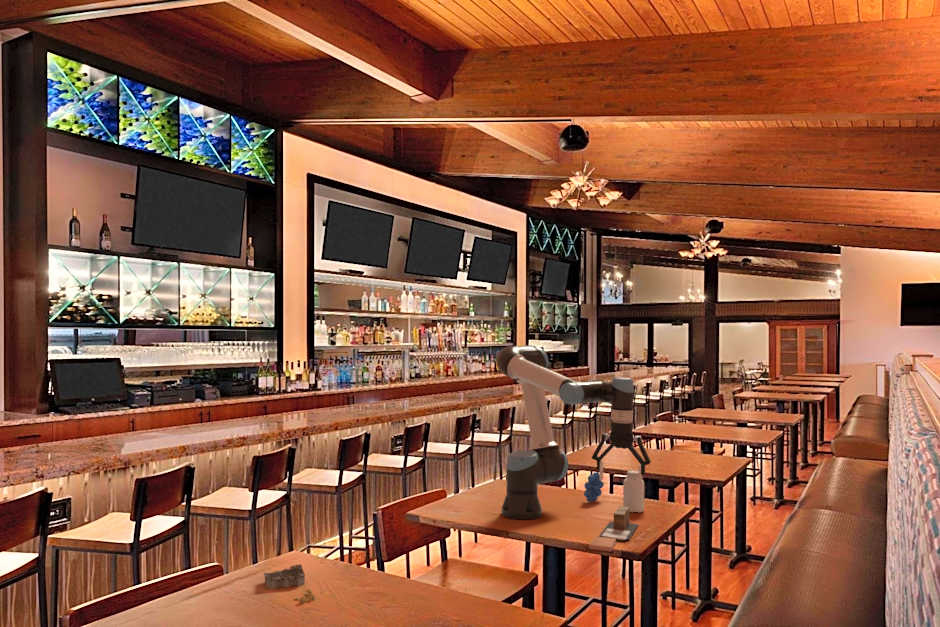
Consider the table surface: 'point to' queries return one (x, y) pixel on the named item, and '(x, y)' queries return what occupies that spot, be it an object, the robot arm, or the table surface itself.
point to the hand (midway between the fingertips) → (620, 482)
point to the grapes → (593, 487)
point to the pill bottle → (633, 492)
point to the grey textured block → (285, 577)
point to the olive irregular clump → (305, 596)
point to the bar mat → (629, 528)
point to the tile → (602, 544)
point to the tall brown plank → (619, 525)
